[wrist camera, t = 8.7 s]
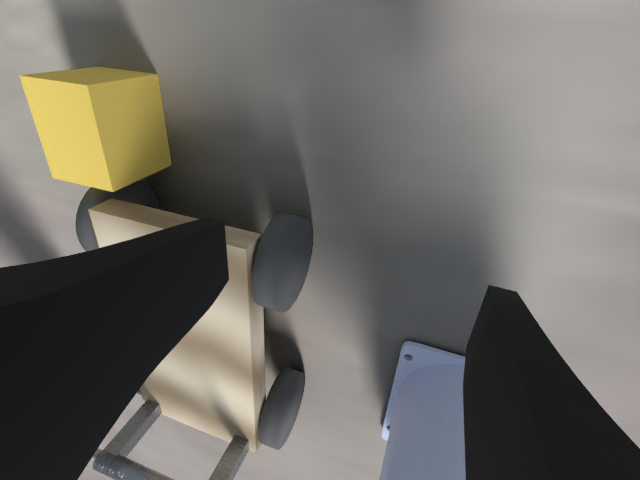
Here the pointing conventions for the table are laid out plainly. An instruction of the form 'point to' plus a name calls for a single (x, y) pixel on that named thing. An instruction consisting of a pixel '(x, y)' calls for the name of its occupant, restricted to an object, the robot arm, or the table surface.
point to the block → (99, 125)
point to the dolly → (211, 336)
